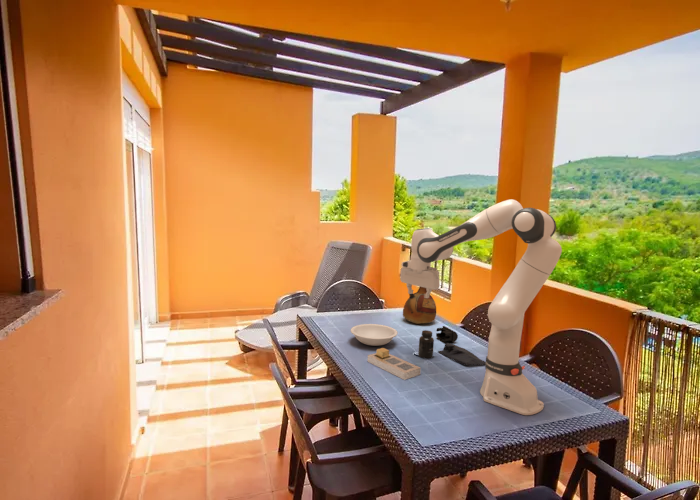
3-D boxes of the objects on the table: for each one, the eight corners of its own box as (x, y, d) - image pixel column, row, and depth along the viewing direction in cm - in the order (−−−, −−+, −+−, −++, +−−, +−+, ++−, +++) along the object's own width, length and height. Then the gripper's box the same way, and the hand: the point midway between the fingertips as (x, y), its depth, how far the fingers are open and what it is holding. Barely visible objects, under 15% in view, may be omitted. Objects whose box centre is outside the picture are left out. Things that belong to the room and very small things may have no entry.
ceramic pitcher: (441, 326, 244) (444, 276, 240) (410, 327, 238) (413, 277, 235) (426, 317, 263) (429, 271, 259) (397, 318, 257) (400, 271, 254)
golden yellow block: (388, 363, 183) (389, 350, 182) (382, 365, 180) (382, 352, 180) (382, 360, 186) (383, 347, 185) (375, 362, 183) (376, 349, 183)
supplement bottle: (432, 359, 189) (434, 334, 188) (417, 358, 191) (419, 333, 189) (432, 354, 196) (434, 330, 195) (418, 353, 197) (419, 328, 196)
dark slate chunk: (462, 369, 180) (463, 359, 180) (435, 352, 201) (436, 342, 200) (491, 366, 186) (491, 356, 185) (461, 349, 206) (462, 340, 206)
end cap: (457, 343, 214) (458, 331, 213) (445, 344, 211) (446, 332, 210) (446, 337, 223) (447, 325, 222) (435, 338, 220) (436, 326, 220)
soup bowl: (344, 348, 200) (345, 335, 199) (355, 333, 223) (356, 321, 222) (393, 354, 194) (394, 341, 193) (399, 338, 217) (400, 326, 217)
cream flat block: (420, 374, 172) (420, 367, 171) (404, 379, 166) (404, 372, 165) (383, 357, 190) (383, 351, 189) (367, 361, 184) (367, 355, 183)
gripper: (443, 268, 173) (441, 299, 174) (408, 261, 189) (406, 290, 190) (434, 268, 169) (431, 301, 171) (398, 262, 185) (397, 292, 186)
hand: (418, 295), depth 181 cm, fingers open, 8 cm apart
